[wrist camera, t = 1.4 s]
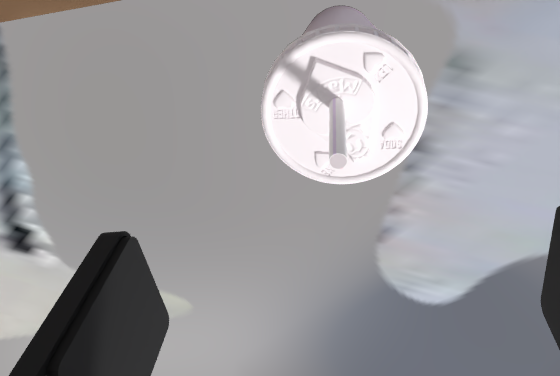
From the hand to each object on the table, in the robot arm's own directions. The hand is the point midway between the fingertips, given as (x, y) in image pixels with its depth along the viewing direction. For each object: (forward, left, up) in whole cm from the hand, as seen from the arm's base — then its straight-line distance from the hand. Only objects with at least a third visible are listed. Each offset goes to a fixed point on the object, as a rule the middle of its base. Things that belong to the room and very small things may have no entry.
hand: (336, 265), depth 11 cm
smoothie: (0, 0, -18) cm, 19 cm away
